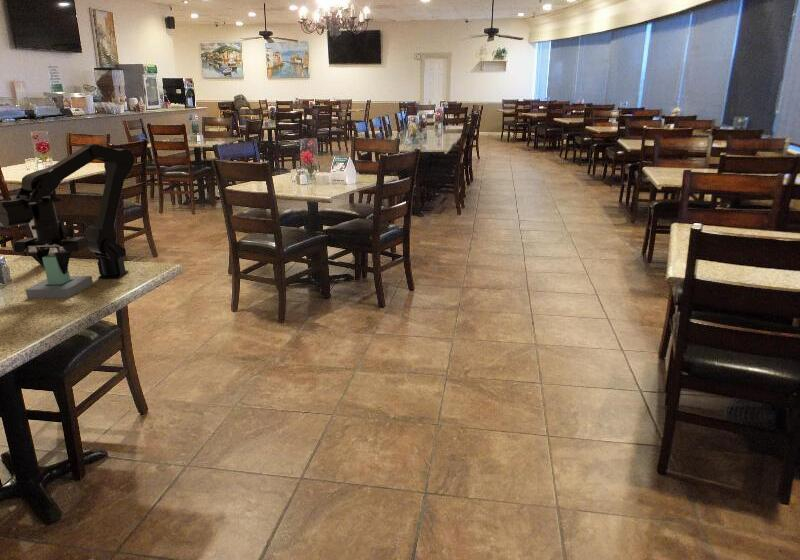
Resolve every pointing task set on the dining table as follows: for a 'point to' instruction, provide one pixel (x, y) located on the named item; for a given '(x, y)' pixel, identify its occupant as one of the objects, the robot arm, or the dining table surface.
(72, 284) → the plate
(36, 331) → the dining table surface
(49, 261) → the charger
